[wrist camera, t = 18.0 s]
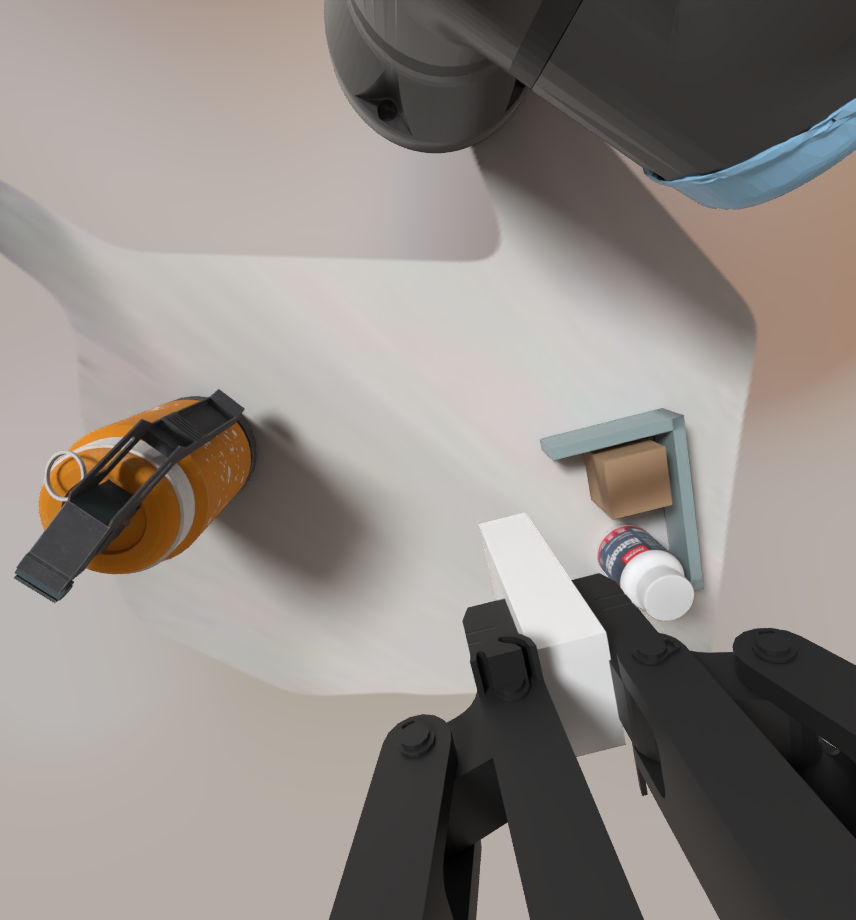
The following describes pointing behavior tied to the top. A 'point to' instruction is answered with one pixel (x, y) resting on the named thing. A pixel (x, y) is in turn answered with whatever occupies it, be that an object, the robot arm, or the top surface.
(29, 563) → the canister
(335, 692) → the top surface
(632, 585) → the pill bottle
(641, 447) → the tan block
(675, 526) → the box
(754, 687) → the robot arm
